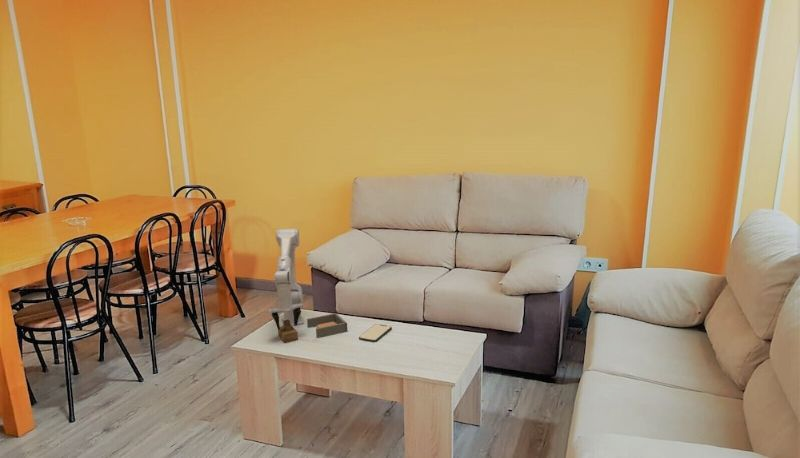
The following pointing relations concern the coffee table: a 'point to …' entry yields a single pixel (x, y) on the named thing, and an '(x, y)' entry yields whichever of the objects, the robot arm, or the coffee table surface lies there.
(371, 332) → the phone case
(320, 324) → the tile
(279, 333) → the pusher
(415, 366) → the coffee table surface
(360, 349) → the coffee table surface
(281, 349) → the coffee table surface
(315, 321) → the frame
